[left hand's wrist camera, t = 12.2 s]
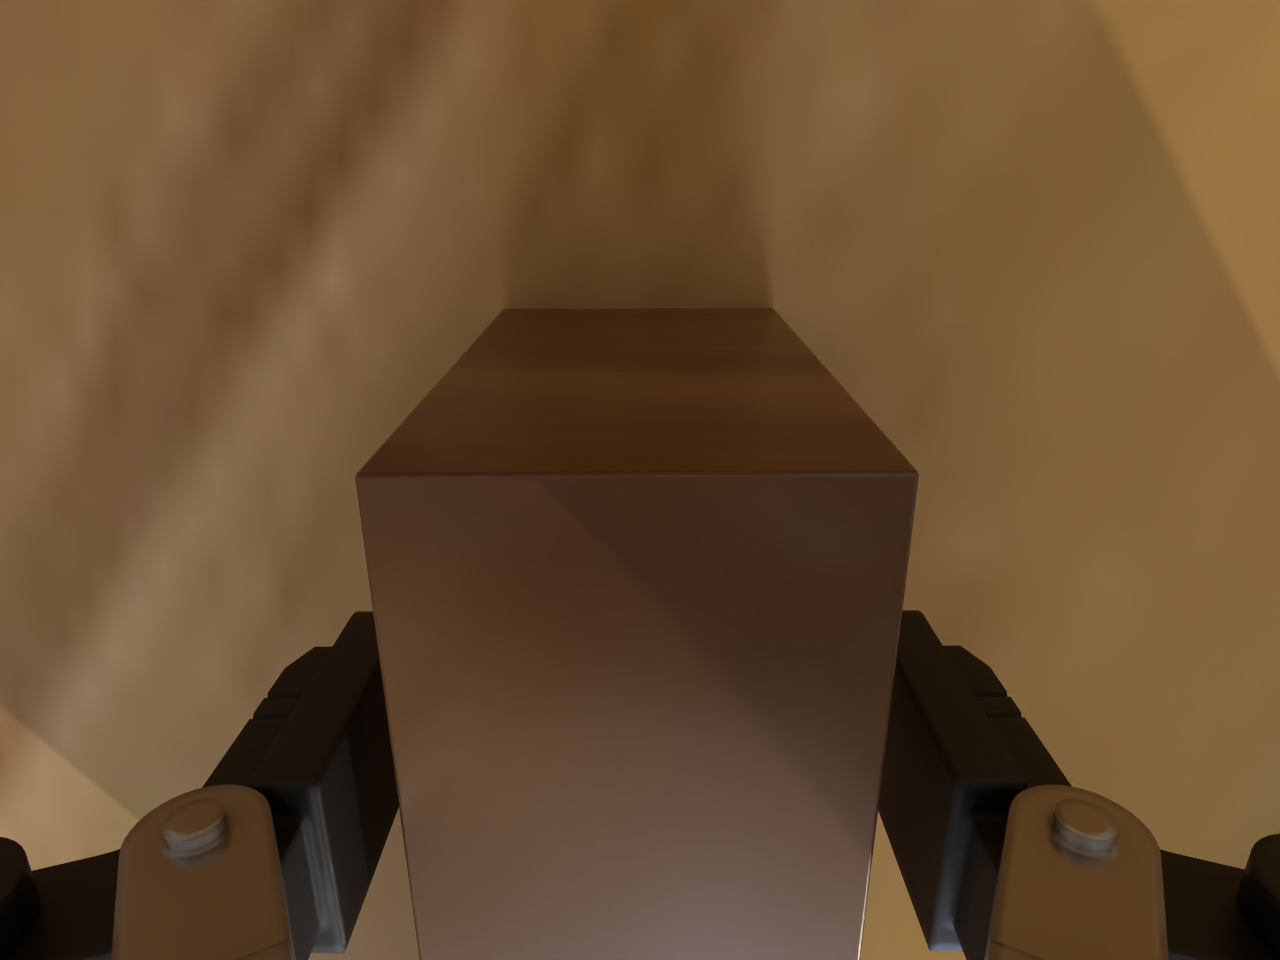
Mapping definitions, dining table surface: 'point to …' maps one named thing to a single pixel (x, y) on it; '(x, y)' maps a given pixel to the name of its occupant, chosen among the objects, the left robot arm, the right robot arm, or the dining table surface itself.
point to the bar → (638, 639)
